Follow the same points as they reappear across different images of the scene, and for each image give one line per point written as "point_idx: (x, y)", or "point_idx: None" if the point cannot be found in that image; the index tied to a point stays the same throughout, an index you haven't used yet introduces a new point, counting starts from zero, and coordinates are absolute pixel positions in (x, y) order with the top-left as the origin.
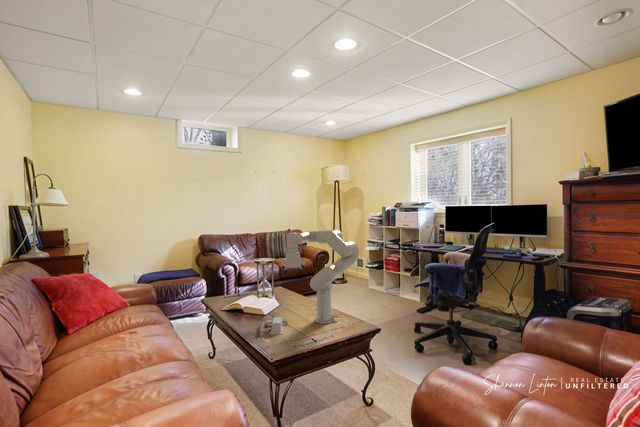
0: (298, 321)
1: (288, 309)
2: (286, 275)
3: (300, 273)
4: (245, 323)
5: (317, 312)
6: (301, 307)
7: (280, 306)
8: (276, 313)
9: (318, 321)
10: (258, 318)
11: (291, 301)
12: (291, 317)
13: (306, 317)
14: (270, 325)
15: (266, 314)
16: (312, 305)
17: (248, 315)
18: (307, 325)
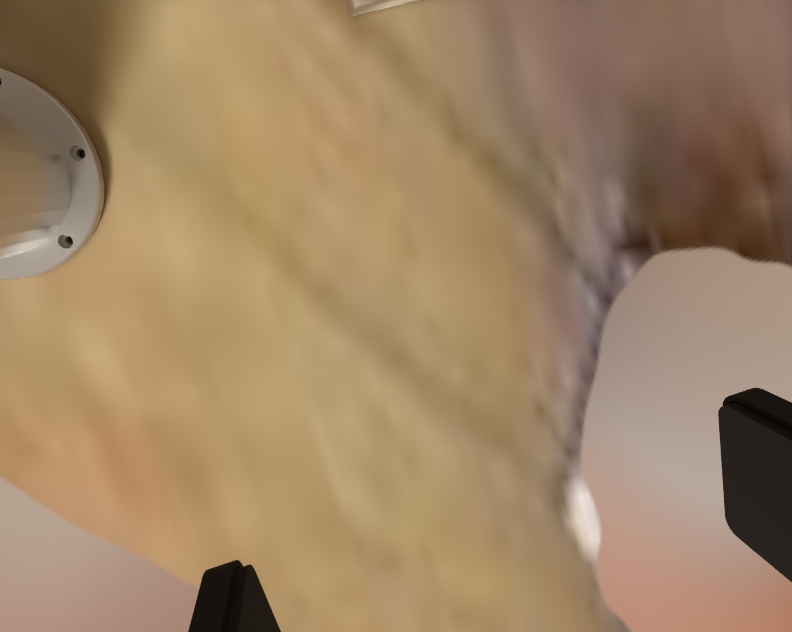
0: (271, 120)
1: (461, 419)
2: (732, 396)
3: (204, 616)
4: (745, 17)
5: (4, 126)
6: (358, 488)
7: (549, 475)
8: (540, 305)
9: (21, 81)
10: (663, 158)
11: (488, 605)
12: (374, 222)
13: (225, 242)
14: None
15: (619, 267)
16: (272, 556)
17: (760, 221)
18: (135, 10)
